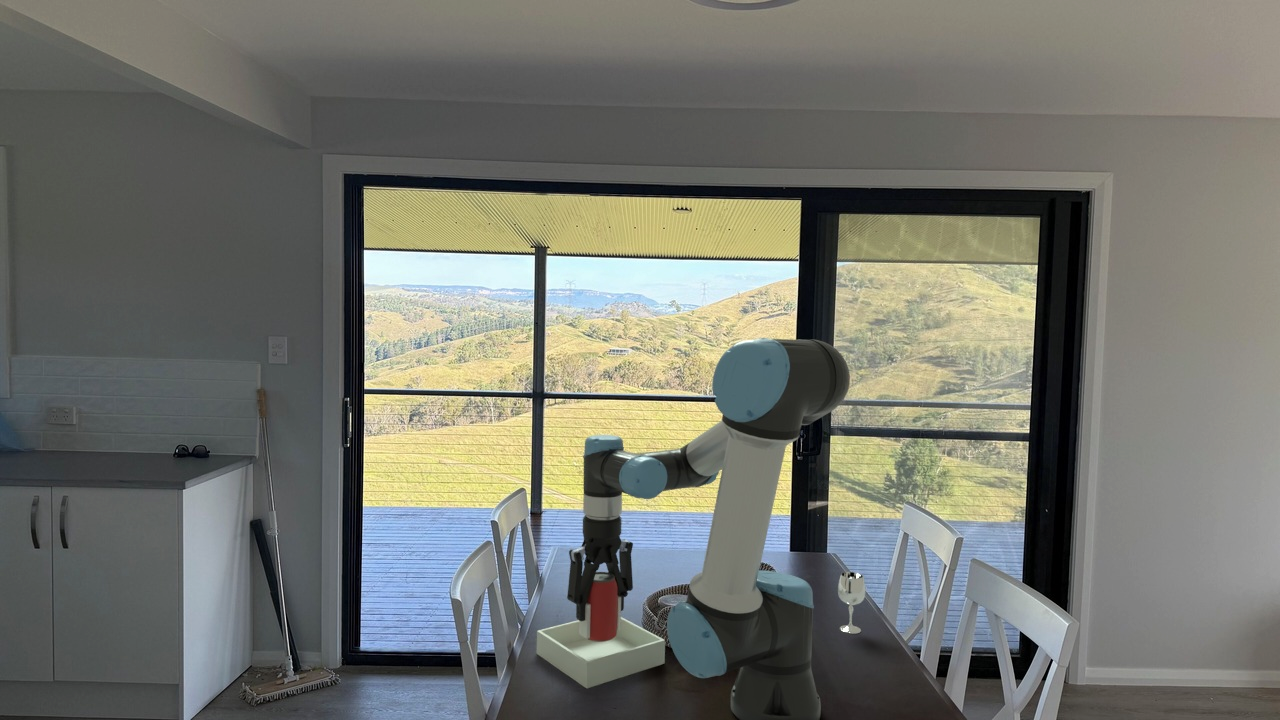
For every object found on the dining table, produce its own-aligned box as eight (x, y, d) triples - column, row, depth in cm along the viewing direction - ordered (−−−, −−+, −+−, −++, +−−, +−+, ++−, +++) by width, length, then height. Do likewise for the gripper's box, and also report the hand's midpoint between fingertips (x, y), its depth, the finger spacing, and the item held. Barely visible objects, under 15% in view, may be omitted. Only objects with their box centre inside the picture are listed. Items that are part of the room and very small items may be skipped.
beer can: (612, 644, 147) (613, 582, 147) (578, 641, 148) (579, 579, 148) (619, 631, 154) (621, 572, 153) (587, 628, 155) (589, 569, 154)
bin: (664, 663, 149) (665, 640, 149) (586, 688, 138) (587, 663, 138) (611, 633, 164) (611, 611, 163) (536, 653, 153) (536, 630, 153)
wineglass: (833, 631, 167) (835, 576, 166) (840, 622, 172) (841, 569, 171) (860, 636, 164) (862, 581, 164) (866, 627, 169) (868, 573, 169)
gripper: (631, 505, 159) (628, 615, 160) (548, 517, 147) (546, 636, 148) (653, 512, 153) (651, 627, 154) (569, 526, 141) (567, 650, 142)
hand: (600, 631), depth 151 cm, fingers closed on beer can, 6 cm apart
